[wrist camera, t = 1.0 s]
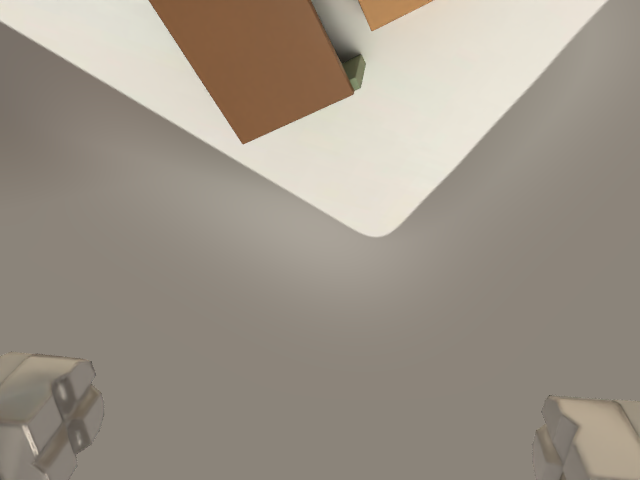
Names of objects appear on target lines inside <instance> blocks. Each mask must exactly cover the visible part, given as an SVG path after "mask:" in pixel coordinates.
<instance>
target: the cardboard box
mask: <svg viewBox="0 0 640 480" xmlns="http://www.w3.org/2000/svg"><path fill="white" fill-rule="evenodd" d="M358 1H359V3H360V6H361V8H362V10H363V12H364V15H365V17H366V19H367V22H368V24H369V26H370V29H371V31H374V30H376V29H378V28H380V27H382V26H384V25H386V24H388V23H390V22H392V21H394V20H396V19H398V18H400V17H402V16H404V15H406V14H407V13H409V12H411V11H413V10H415V9H417V8H419V7H421V6H423V5H425V4H427V3H429V2H431V1H433V0H358Z"/></svg>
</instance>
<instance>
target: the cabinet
mask: <svg viewBox="0 0 640 480" xmlns="http://www.w3.org/2000/svg"><path fill="white" fill-rule="evenodd" d="M149 2H150V3H151V5H152V6H153V8H154V9H155V11H156V12H157V14H158V15H159V17H160V18H161V20H162V21H163V23H164V24H165V26H166V28H167V29H168V31H169V32H170V34H171V35H172V37H173V38H174V40H175V41H176V43H177V44H178V46H179V47H180V49H181V51H182V52H183V54H184V55H185V57H186V58H187V60H188V61H189V63H190V64H191V66H192V67H193V69H194V70H195V72H196V74H197V75H198V77H199V78H200V80H201V81H202V83H203V84H204V86H205V87H206V89H207V90H208V92H209V93H210V95H211V97H212V98H213V100H214V101H215V103H216V104H217V106H218V107H219V109H220V110H221V112H222V113H223V115H224V116H225V118H226V119H227V121H228V123H229V124H230V126H231V127H232V129H233V130H234V132H235V133H236V135H237V136H238V138H239V139H240V141H241V142H242V144H245V143H247V142H250V141H252V140H254V139H256V138H258V137H261V136H263V135H265V134H267V133H269V132H272V131H274V130H276V129H278V128H280V127H283V126H285V125H287V124H289V123H292V122H294V121H296V120H298V119H300V118H303V117H305V116H307V115H309V114H311V113H314V112H316V111H318V110H320V109H322V108H325V107H327V106H329V105H331V104H333V103H336V102H338V101H340V100H342V99H345V98H347V97H349V96H351V95H353V94H354V91H355V90H357V89H360V88H361V84H362V79H363V75H364V70H365V65H366V63H365V61H364V59H363V57H362V55H359V56H357V57H354V58H352V59H350V60H348V61H346V62H344V63H342V64H341V62H340V60H339V58H338V56H337V54H336V52H335V50H334V48H333V46H332V43H331V41H330V39H329V37H328V35H327V33H326V31H325V29H324V27H323V25H322V23H321V21H320V19H319V17H318V15H317V12H316V10H315V8H314V6H313V4H312V2H311V0H149Z"/></svg>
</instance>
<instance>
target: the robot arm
mask: <svg viewBox="0 0 640 480" xmlns="http://www.w3.org/2000/svg"><path fill="white" fill-rule="evenodd" d="M95 376H96V373H95V370H94V367H93V365H92V362H91V361H89V360H86V359H80V358H70V357H62V356H52V355H43V354H27V353H18V352H9V353H6V354H4V355H1V356H0V480H69V479H70V477H71V475H72V474H73V472H74V471H75V469H76V468H77V457H76V454H78V453H79V452H81V451H82V450H84V449H85V448H87V447H88V446H90V445H91V444H92V442H93V441H94V439H95V437H96V436H97V434H98V432H99V431H100V427H101V424H102V420H103V417H104V400H103V397H102V393H101V392H100V391H99V390H98V389H97V388H95V387H94V386H93V385H92V384H91V383H92V381H93V379H94V378H95ZM542 415H543V418H544V420H545V423H546V424H544V425H543V426H542V427H540V428H539V429H538V430H536V433H535V437H534V441H533V467H534V472H535V477H536V480H640V401H628V400H609V399H596V398H581V397H567V396H552V395H549V396H548V398H547V399H546V400H545V402H544V405H543V408H542Z"/></svg>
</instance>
